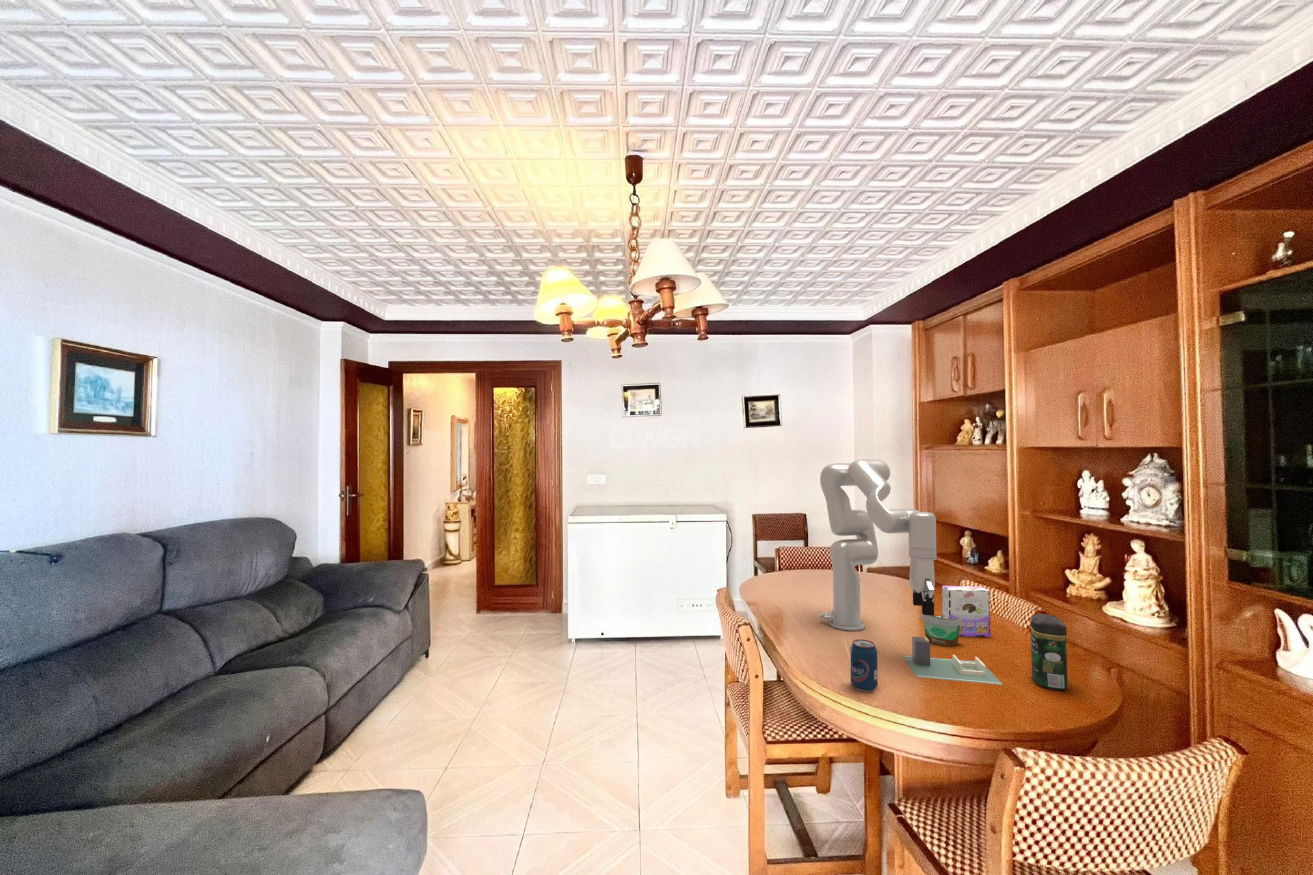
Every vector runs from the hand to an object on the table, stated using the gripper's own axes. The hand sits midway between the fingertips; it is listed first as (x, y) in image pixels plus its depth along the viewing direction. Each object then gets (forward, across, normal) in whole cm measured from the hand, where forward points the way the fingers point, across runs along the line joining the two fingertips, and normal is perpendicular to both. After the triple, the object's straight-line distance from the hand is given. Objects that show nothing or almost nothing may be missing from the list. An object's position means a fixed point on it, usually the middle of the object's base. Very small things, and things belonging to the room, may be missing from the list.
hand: (923, 609), depth 160 cm
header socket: (+16, +4, +11) cm, 20 cm away
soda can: (+17, +18, -20) cm, 32 cm away
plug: (+16, 0, -1) cm, 16 cm away
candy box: (+17, -33, +23) cm, 43 cm away
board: (+17, +4, +6) cm, 18 cm away
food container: (+17, -18, +10) cm, 27 cm away
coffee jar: (+17, +5, +31) cm, 36 cm away
